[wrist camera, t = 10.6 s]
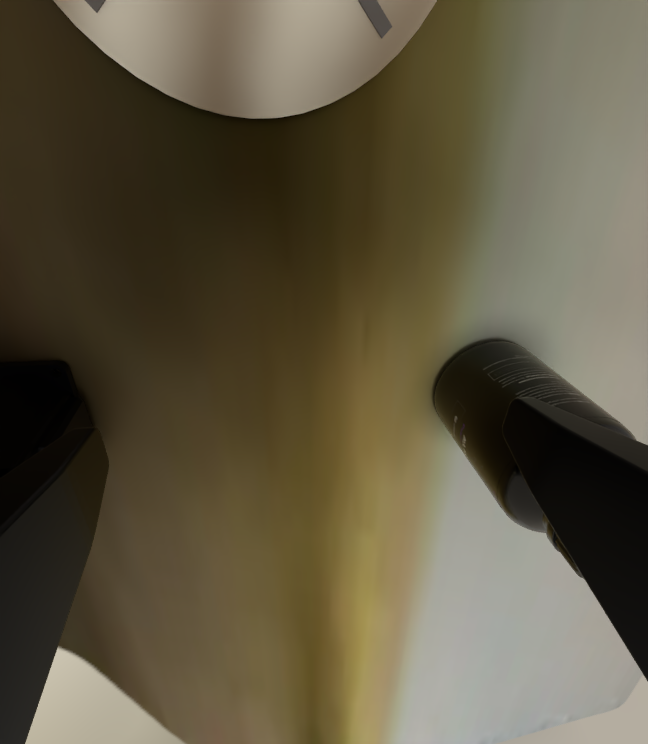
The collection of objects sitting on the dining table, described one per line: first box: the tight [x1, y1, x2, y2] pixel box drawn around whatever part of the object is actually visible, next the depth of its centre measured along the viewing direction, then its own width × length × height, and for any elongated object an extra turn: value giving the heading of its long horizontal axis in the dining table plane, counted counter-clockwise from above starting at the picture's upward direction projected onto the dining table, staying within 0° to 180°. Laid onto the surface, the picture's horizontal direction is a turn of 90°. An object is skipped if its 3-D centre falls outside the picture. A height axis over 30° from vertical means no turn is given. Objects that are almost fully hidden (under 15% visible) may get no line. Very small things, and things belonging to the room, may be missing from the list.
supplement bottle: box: [435, 341, 636, 579], centre depth 21 cm, size 7×7×12 cm
